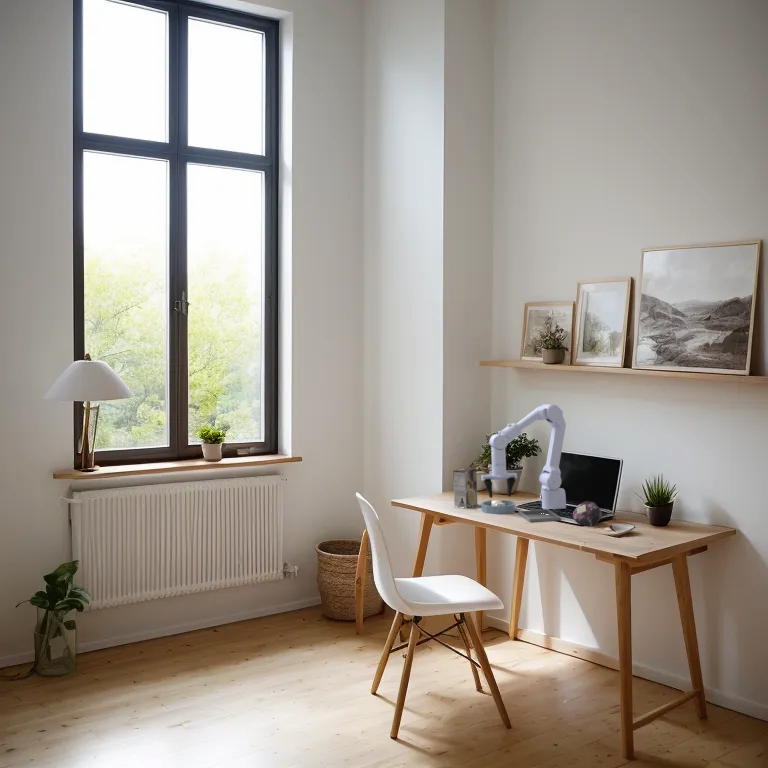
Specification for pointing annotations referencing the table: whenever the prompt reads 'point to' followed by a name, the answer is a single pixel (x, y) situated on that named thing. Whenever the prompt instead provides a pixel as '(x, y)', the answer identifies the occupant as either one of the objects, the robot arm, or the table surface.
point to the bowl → (498, 507)
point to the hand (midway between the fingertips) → (499, 496)
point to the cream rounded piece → (500, 504)
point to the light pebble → (495, 502)
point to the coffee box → (465, 487)
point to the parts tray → (539, 515)
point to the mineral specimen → (587, 514)
